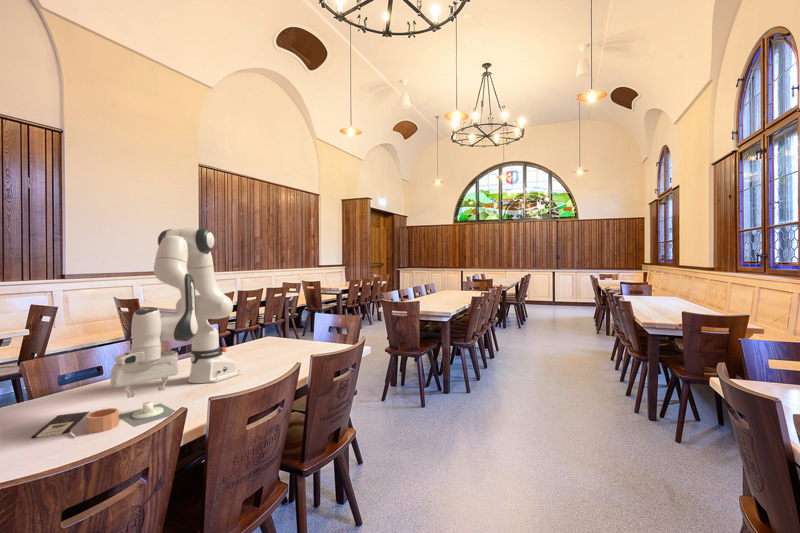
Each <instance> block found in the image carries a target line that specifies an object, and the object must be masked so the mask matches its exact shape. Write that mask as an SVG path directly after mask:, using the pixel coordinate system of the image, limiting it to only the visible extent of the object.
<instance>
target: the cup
mask: <svg viewBox="0 0 800 533" xmlns="http://www.w3.org/2000/svg"><path fill="white" fill-rule="evenodd" d="M119 410H120V409H118V408H115V407H114V408H111V407H110V408H109V407H108V408H105V409H104V408H103V409H99V410H95V411H93V412H91V413H90V412H89V413H88V414H87V415H86V432H87V433H88V434H89V433H91V434H96V433H103V432H107V431H110V430H113V429H115V428H116V427H118V426H119V425H120V418H119V415H120V411H119Z"/></svg>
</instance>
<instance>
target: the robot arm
mask: <svg viewBox="0 0 800 533" xmlns="http://www.w3.org/2000/svg"><path fill="white" fill-rule="evenodd" d="M215 242H216V240H215V235H214V233H213V231H211V230H210V229H208V228H203V227H200V228H199V227H198V228H197V227H183V228H173V229H171V228H170V229H165V230H163V231H162V232H160V234H159V235H158V237H157V245H158V247H157V248H158V249H157V251H156V255H155V260H154V265H153V274H154V276H155V277H156V279H157V280H158V281H159V282H161V283H164V284H166V285H168V286H170V287H173V288H176V289H178V290H179V293H180V298H179V299H178V300H177V301H176V304H175V311H176V314H163V313H161V312H160V309H159V308H157V307H153V306H152V307H151V306H150V307H143V308H139V309H137V310H135V311H134V312H133V315H132V319H131V326H130V327H131V330H130V332H131V338H132V339H131V340H132V343H131V346H130V350H128V351H125V352H124V353H123V352H122V353H120V354H119V355H117V356H115V357H114V362H115V364H114V365H113V366H112V367H111V372H110V385H111V386H112V387H114V388H121V387H123V389H124V390H125V392H126V393H127V394H126V395H127V398H128V399H130V398H134V397H135V391H133V390H131V385H136V384H139V383H145V382H149V381H153V380H160V379H161V380H162V381H161V383H160V384H158V386H157V390H158V391H160V392H161V391H165V386H166V385H167V383H168V380H169V377H173V376H174V377H175V376H177V375H178V374H179V372H180V371H179V362H178V360H179V352H178V351H176V350H173V349H171V350H165V351H162V342H161V341H163V342H164V341H170V342H172V341H173V342H174V341H177V342H188V341H190V340H191V350H190V362H191V364H190V365H191V366H190V371H189V377H188V379H187V382H189V383H190V384H208V383H209V384H212V383H214V384H215V383H218V382H222V381H224V380H227V379H230V378H234V377H236V376H239V375H241V374H242V371H241V370H240V369H237V366H236V363H235V361H234V360H233V359H231V358H229V357H227V355H225V354H223V353H226V352H227V348H226V347H220V346H219V331H218V330H217V328H216V327H215V326H213V325H211V323H210V322H209V321H208V320H219V319H220V320H221V319H225V318H228V317H229V316H230V315H231V314H232V313H233V308H234V304H233V300H232V299H231V298H230V297H229V296H227V294H224V291H222V290H221V289H220V286H219V285H218V284H217V281H216V276H215V275H216V274H215V267H214V262H213V261H214V260H213V256H212V252H211V251H212V250H213V249H214V247H215ZM196 292H198V293H199V295H197V294H196Z"/></svg>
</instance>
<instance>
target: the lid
mask: <svg viewBox="0 0 800 533" xmlns="http://www.w3.org/2000/svg"><path fill="white" fill-rule="evenodd" d="M153 405H154V401H148V402H144V403H143V404H142V408H143V409H142V408H140V409H141V410H138V409H137V410H138V411H136V412H134V413H133V414H132V418H133V419H138V420H140V419H148V418H152V417H156V416H158V415H160V414H162V413H163V411H164V409H163V408H162V407H153Z"/></svg>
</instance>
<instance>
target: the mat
mask: <svg viewBox="0 0 800 533" xmlns="http://www.w3.org/2000/svg"><path fill="white" fill-rule="evenodd" d="M153 407H162V408H163V409H164V411H163V413H162V414H160V415H158V416H156V417H152V418H148V419H140V420H138V419H133V418H132V414H133V413H134V412H136V411H138V410H141V409H143V407H142V408H139V409H135V410H131V411H126V412H124V413H119V419H121V420H122V421H124V422H125V423H127V424H128V425H130V426H132V427H133V428H136V427H138V426H141V425H144V424H148V423H152V422H155V421H158V420H162V419H165V418H169V417H171V416H170V415H171V414H172V413H173V412H175V411H176V410H175V409H172V408H171V407H169V406H167V405H164V404H162V403H157V404H153Z"/></svg>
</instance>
